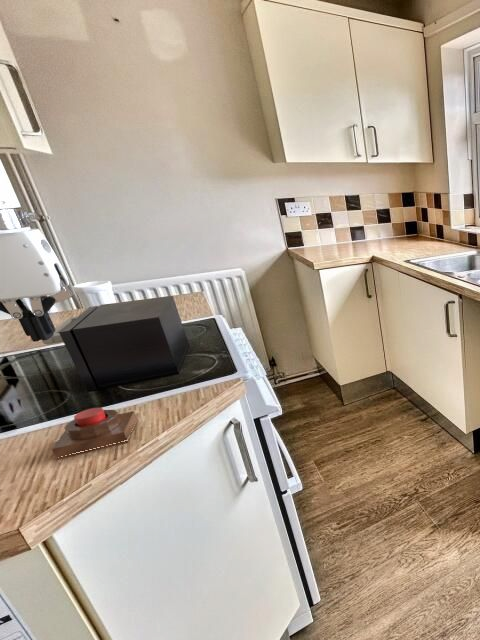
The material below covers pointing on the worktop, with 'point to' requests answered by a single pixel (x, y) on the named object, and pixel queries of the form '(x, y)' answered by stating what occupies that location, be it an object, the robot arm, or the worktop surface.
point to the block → (95, 434)
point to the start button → (89, 417)
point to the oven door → (75, 347)
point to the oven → (133, 341)
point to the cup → (95, 293)
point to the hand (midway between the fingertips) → (43, 338)
